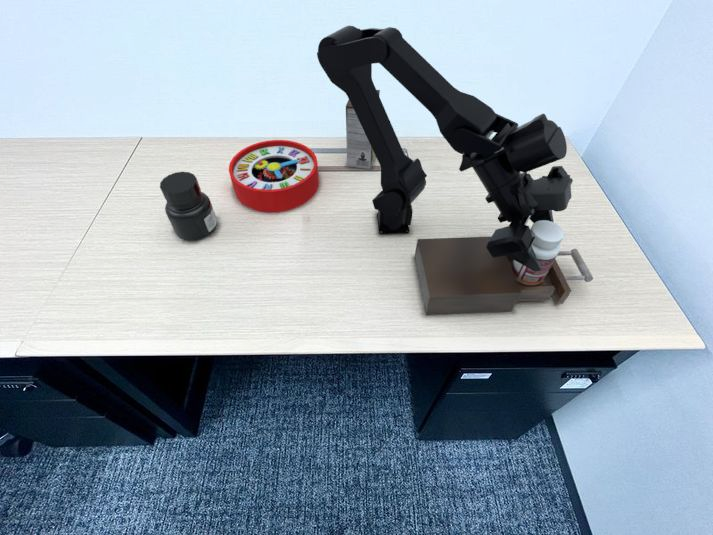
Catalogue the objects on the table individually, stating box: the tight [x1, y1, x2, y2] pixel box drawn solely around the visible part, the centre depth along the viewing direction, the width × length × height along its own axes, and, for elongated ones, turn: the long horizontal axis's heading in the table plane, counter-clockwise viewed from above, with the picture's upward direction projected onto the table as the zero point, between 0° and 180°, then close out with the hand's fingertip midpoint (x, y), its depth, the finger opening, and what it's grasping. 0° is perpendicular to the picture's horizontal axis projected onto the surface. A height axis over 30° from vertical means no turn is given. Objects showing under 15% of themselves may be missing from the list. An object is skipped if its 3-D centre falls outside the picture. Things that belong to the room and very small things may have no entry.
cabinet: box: [413, 235, 521, 316], centre depth 73 cm, size 16×14×6 cm
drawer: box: [507, 248, 594, 305], centre depth 74 cm, size 20×12×4 cm, turn 93°
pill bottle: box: [511, 220, 565, 286], centre depth 70 cm, size 6×6×11 cm
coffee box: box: [345, 89, 381, 170], centre depth 96 cm, size 9×6×16 cm
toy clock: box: [228, 139, 320, 214], centre depth 93 cm, size 20×6×20 cm
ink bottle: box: [159, 171, 219, 242], centre depth 81 cm, size 10×9×12 cm
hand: (546, 253), depth 69 cm, fingers open, 9 cm apart
